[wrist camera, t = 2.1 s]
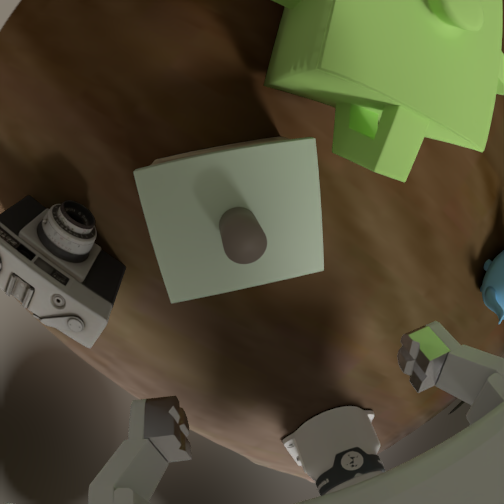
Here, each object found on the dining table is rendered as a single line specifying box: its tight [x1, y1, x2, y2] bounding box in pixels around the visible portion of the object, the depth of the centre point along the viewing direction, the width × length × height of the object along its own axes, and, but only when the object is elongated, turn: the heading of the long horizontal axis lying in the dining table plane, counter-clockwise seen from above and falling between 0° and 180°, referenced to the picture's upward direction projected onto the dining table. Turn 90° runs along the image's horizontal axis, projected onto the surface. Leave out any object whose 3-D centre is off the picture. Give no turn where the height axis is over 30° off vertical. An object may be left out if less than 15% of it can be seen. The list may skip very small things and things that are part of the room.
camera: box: [0, 196, 126, 348], centre depth 24 cm, size 14×8×10 cm, turn 47°
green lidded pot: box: [264, 0, 504, 182], centre depth 17 cm, size 25×23×17 cm
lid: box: [133, 137, 324, 304], centre depth 22 cm, size 11×13×4 cm
